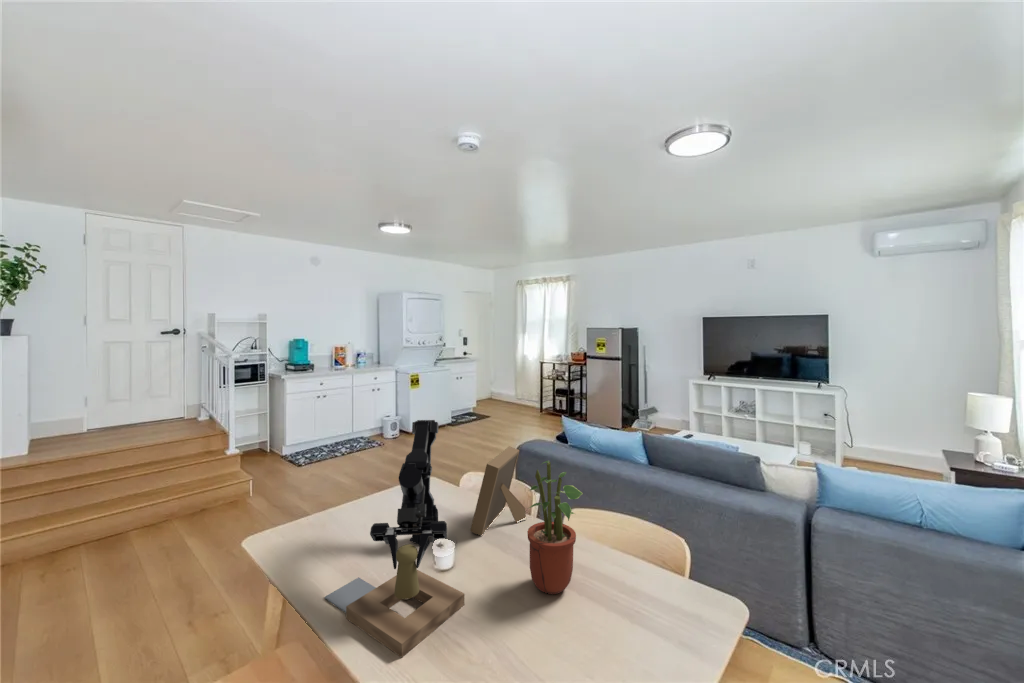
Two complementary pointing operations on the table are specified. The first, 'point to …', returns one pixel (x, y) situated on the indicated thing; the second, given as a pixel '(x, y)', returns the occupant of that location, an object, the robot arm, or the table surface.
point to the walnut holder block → (415, 627)
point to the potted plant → (552, 538)
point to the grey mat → (349, 593)
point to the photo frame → (497, 491)
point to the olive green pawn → (406, 572)
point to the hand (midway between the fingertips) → (406, 568)
